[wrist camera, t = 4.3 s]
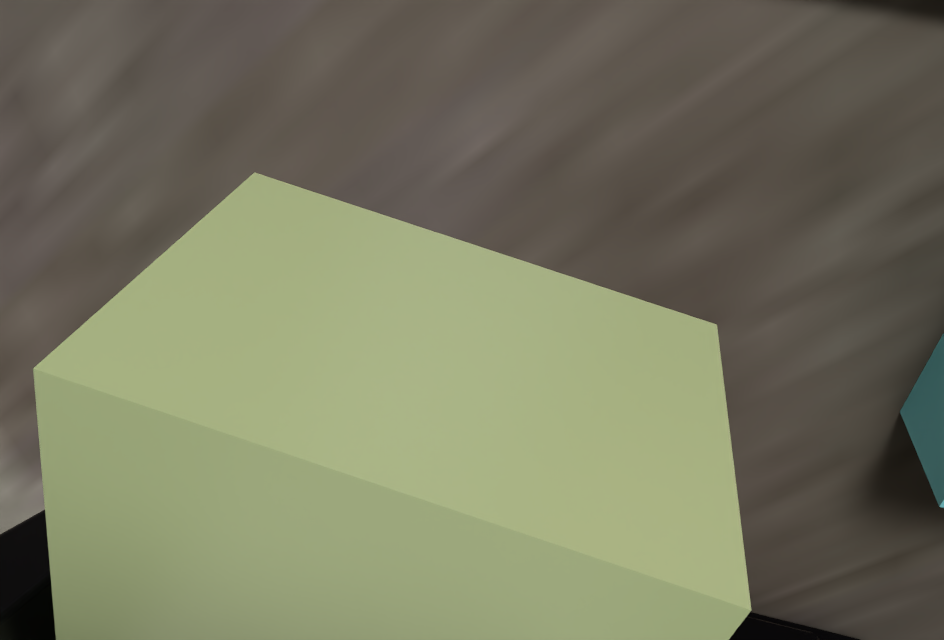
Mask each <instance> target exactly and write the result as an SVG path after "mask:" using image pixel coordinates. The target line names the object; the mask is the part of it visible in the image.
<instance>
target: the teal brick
mask: <svg viewBox="0 0 944 640" xmlns="http://www.w3.org/2000/svg"><path fill="white" fill-rule="evenodd" d="M900 413H901V416H902V418H903V421H904V423H905V425H906V428H907V430H908V433H909V435H910V437H911V440H912V442H913V445H914V447H915V449H916V452H917V454H918V457H919V459H920V461H921V464H922V466H923V469H924V471H925V473H926V476H927V478H928V481H929V483H930V485H931V488H932V490H933V493H934V495H935V497H936V500H937V502H938V505H939V507H943V508H944V333H943V335H942V337H941V339H940V340H939V342H938V344H937V346H936V348H935V349H934V351H933V353H932V355H931V357H930V358H929V360H928V362H927V364H926V366H925V367H924V369H923V371H922V373H921V375H920V376H919V378H918V380H917V382H916V384H915V385H914V387H913V389H912V391H911V393H910V394H909V396H908V398H907V400H906V402H905V403H904V405H903V407H902V409H901V411H900Z"/></svg>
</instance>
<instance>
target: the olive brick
mask: <svg viewBox="0 0 944 640" xmlns="http://www.w3.org/2000/svg"><path fill="white" fill-rule="evenodd" d="M33 371H34V383H35V395H36V407H37V419H38V431H39V443H40V455H41V467H42V479H43V491H44V503H45V515H46V527H47V539H48V551H49V563H50V575H51V587H52V599H53V611H54V623H55V635H56V640H729V639H730V637H731V636H732V635H733V634H734V632H735V631H736V630H737V628H738V627H739V626H740V624H741V623H742V622H743V621H744V619H745V618H746V617H747V615H748V614H749V613H750V611H751V603H750V595H749V587H748V578H747V570H746V562H745V554H744V545H743V537H742V529H741V521H740V512H739V504H738V496H737V488H736V479H735V471H734V463H733V454H732V446H731V438H730V430H729V421H728V413H727V405H726V397H725V388H724V380H723V372H722V364H721V355H720V347H719V339H718V331H717V325H716V324H713V323H710V322H707V321H704V320H701V319H698V318H695V317H692V316H689V315H686V314H683V313H679V312H676V311H673V310H670V309H667V308H664V307H661V306H658V305H655V304H652V303H649V302H646V301H643V300H640V299H637V298H634V297H631V296H628V295H625V294H622V293H619V292H616V291H613V290H610V289H607V288H604V287H600V286H597V285H594V284H591V283H588V282H585V281H582V280H579V279H576V278H573V277H570V276H567V275H564V274H561V273H558V272H555V271H552V270H549V269H546V268H543V267H540V266H537V265H534V264H531V263H528V262H525V261H522V260H518V259H515V258H512V257H509V256H506V255H503V254H500V253H497V252H494V251H491V250H488V249H485V248H482V247H479V246H476V245H473V244H470V243H467V242H464V241H461V240H458V239H455V238H452V237H449V236H446V235H443V234H439V233H436V232H433V231H430V230H427V229H424V228H421V227H418V226H415V225H412V224H409V223H406V222H403V221H400V220H397V219H394V218H391V217H388V216H385V215H382V214H379V213H376V212H373V211H370V210H367V209H364V208H361V207H357V206H354V205H351V204H348V203H345V202H342V201H339V200H336V199H333V198H330V197H327V196H324V195H321V194H318V193H315V192H312V191H309V190H306V189H303V188H300V187H297V186H294V185H291V184H288V183H285V182H282V181H278V180H275V179H272V178H269V177H266V176H263V175H260V174H257V173H253V174H252V175H251V176H250V177H249V178H248V179H247V180H246V181H244V182H243V183H242V184H241V185H240V186H239V187H238V188H237V189H235V190H234V191H233V192H232V193H231V194H230V195H229V196H228V197H226V198H225V199H224V200H223V201H222V202H221V203H220V204H218V205H217V206H216V207H215V208H214V209H213V210H212V211H211V212H209V213H208V214H207V215H206V216H205V217H204V218H203V219H202V220H200V221H199V222H198V223H197V224H196V225H195V226H194V227H193V228H191V229H190V230H189V231H188V232H187V233H186V234H185V235H183V236H182V237H181V238H180V239H179V240H178V241H177V242H176V243H174V244H173V245H172V246H171V247H170V248H169V249H168V250H167V251H165V252H164V253H163V254H162V255H161V256H160V257H159V258H158V259H156V260H155V261H154V262H153V263H152V264H151V265H150V266H149V267H147V268H146V269H145V270H144V271H143V272H142V273H141V274H139V275H138V276H137V277H136V278H135V279H134V280H133V281H132V282H130V283H129V284H128V285H127V286H126V287H125V288H124V289H123V290H121V291H120V292H119V293H118V294H117V295H116V296H115V297H114V298H112V299H111V300H110V301H109V302H108V303H107V304H106V305H104V306H103V307H102V308H101V309H100V310H99V311H98V312H97V313H95V314H94V315H93V316H92V317H91V318H90V319H89V320H88V321H86V322H85V323H84V324H83V325H82V326H81V327H80V328H79V329H77V330H76V331H75V332H74V333H73V334H72V335H71V336H69V337H68V338H67V339H66V340H65V341H64V342H63V343H62V344H60V345H59V346H58V347H57V348H56V349H55V350H54V351H53V352H51V353H50V354H49V355H48V356H47V357H46V358H45V359H44V360H42V361H41V362H40V363H39V364H38V365H37V366H36V367H34V368H33Z"/></svg>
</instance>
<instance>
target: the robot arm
mask: <svg viewBox="0 0 944 640" xmlns="http://www.w3.org/2000/svg"><path fill="white" fill-rule="evenodd" d="M0 640H56V635H55V623H54V611H53V599H52V587H51V575H50V563H49V551H48V539H47V527H46V515H45V510H43V511H41V512H40V513H38V514H36V515H34V516H32V517H31V518H29V519H27V520H25V521H24V522H22V523H20V524H18V525H16V526H15V527H13V528H11V529H9V530H7V531H6V532H4V533H2V534H0ZM729 640H859V639H855V638H851V637H847V636H843V635H839V634H835V633H831V632H827V631H823V630H819V629H815V628H811V627H806V626H802V625H798V624H794V623H790V622H786V621H782V620H778V619H774V618H770V617H766V616H762V615H758V614H754V613H749V614H748V615H747V617H746V618H745V619H744V621H743V622H742V623H741V624H740V626H739V627H738V628H737V630H736V631H735V632H734V634H733V635H732V636H731V637H730V639H729Z"/></svg>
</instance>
